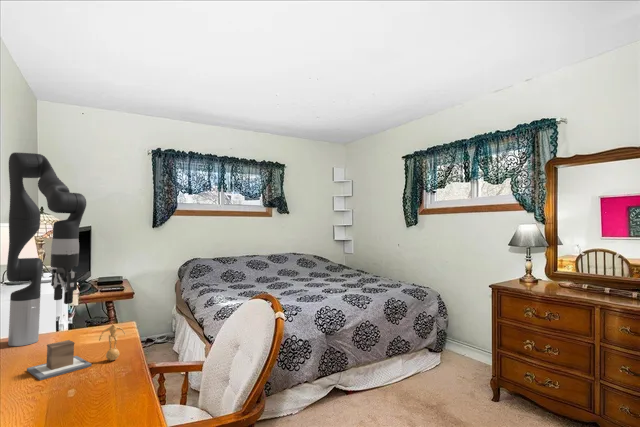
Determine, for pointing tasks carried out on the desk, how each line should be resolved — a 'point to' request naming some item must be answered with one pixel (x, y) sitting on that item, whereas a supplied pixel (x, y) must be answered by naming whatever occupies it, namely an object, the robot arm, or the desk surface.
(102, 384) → the desk surface
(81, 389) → the desk surface
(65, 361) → the walnut box
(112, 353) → the figurine
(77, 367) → the mat
